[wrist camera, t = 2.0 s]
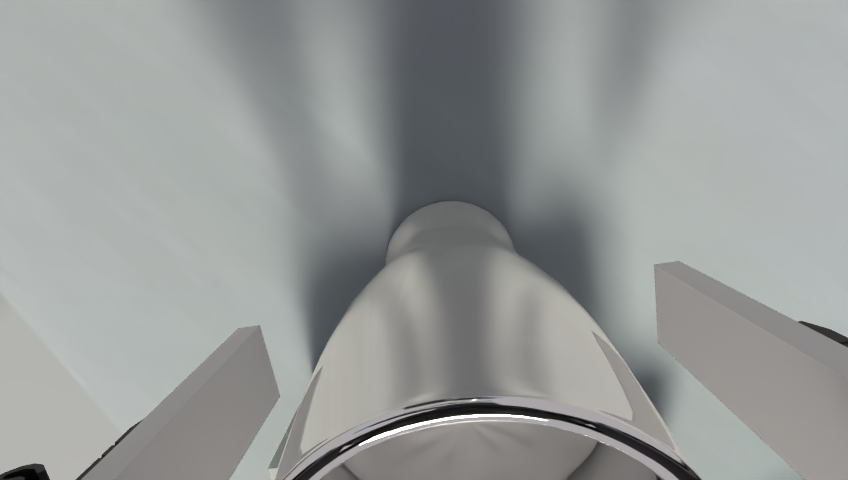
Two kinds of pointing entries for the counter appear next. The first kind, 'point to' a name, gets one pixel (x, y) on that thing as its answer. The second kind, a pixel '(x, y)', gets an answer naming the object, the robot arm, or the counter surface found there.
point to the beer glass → (472, 373)
